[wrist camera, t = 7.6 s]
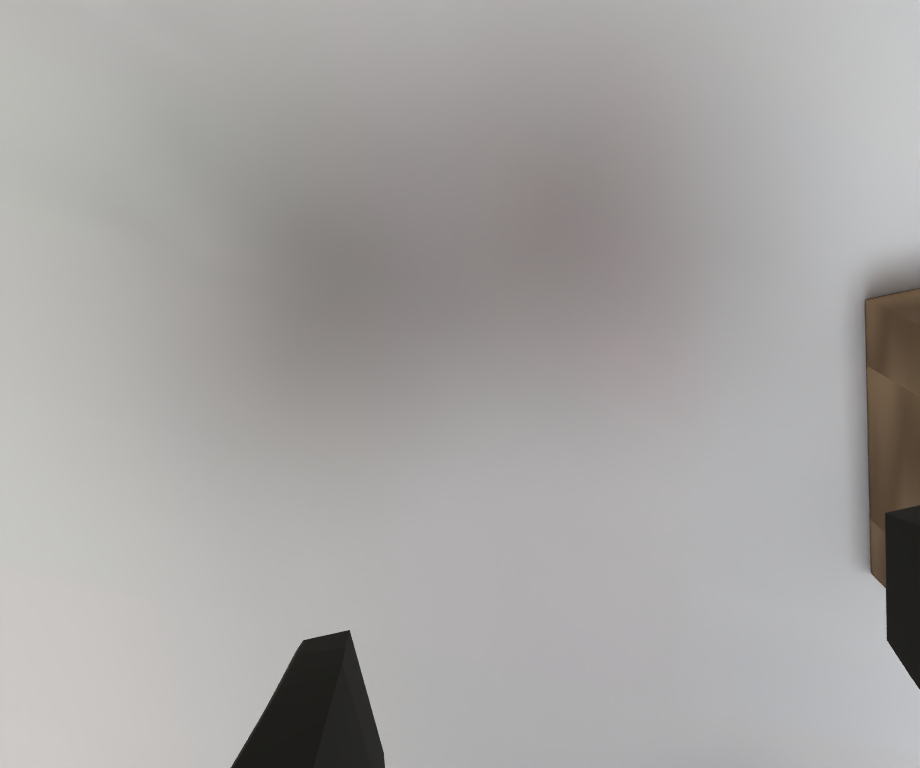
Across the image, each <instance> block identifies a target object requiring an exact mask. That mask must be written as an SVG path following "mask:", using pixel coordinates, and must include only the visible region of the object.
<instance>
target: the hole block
mask: <svg viewBox="0 0 920 768" xmlns="http://www.w3.org/2000/svg"><path fill="white" fill-rule="evenodd" d="M865 303H866V348H867V393H868V438H869V482H870V527H871V572H872V575H873V576H874V577H875V578H876V579H877V580H878V581H879V582H880V583H881V584H882V585H883V586H884V587H885V588H886V549H885V513H886V512H891V511H896V510H900V509H905V508H909V507H914V506H918V505H920V288H919V289H915V290H910V291H905V292H900V293H896V294H891V295H886V296H881V297H877V298H872V299H867V300H865Z"/></svg>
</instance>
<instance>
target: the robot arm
mask: <svg viewBox="0 0 920 768" xmlns="http://www.w3.org/2000/svg"><path fill="white" fill-rule="evenodd" d="M885 549H886V614H887V641H888V642H889V644H890V646H891V647H892V649H893V650H894V652H895V653H896V655H897V656H898V658H899V659H900V661H901V662H902V664H903V665H904V667H905V669H906V670H907V672H908V673H909V675H910V676H911V678H912V679H913V680H914V682H915V683H916V685H917V686H918V688H919V689H920V505H918V506H914V507H909V508H905V509H900V510H896V511H891V512H886V513H885ZM231 768H385V763H384V752H383V749H382V745H381V742H380V738H379V734H378V731H377V727H376V724H375V720H374V716H373V713H372V709H371V706H370V702H369V698H368V695H367V691H366V688H365V684H364V680H363V677H362V673H361V669H360V666H359V662H358V659H357V655H356V651H355V648H354V644H353V641H352V637H351V633H350V630H348V631H343V632H339V633H334V634H330V635H325V636H321V637H316V638H311V639H307V640H303V642H302V643H301V645H300V646H299V648H298V649H297V651H296V653H295V654H294V656H293V658H292V660H291V662H290V664H289V666H288V668H287V670H286V672H285V673H284V675H283V677H282V679H281V681H280V683H279V685H278V687H277V689H276V690H275V692H274V694H273V696H272V698H271V700H270V701H269V703H268V705H267V707H266V709H265V710H264V712H263V714H262V716H261V718H260V719H259V721H258V723H257V724H256V726H255V728H254V730H253V731H252V733H251V735H250V736H249V738H248V740H247V741H246V743H245V745H244V746H243V748H242V750H241V752H240V753H239V755H238V757H237V758H236V760H235V762H234V763H233V765H232V767H231Z"/></svg>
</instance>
